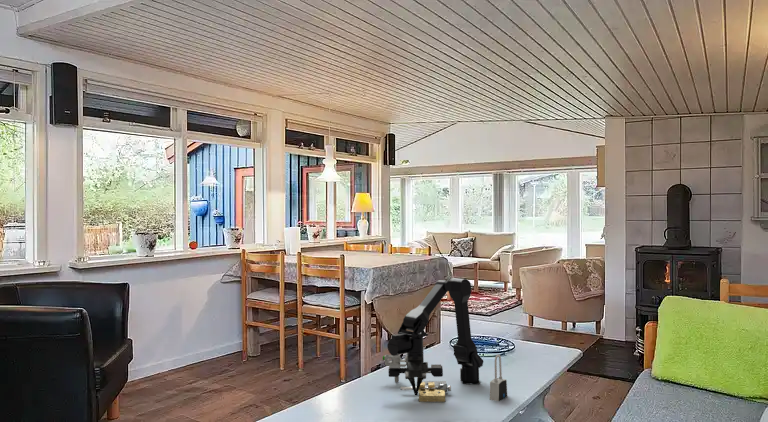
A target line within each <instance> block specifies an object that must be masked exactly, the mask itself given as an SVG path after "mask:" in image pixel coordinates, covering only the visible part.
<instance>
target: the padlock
mask: <svg viewBox="0 0 768 422" xmlns="http://www.w3.org/2000/svg"><path fill="white" fill-rule="evenodd" d="M501 357H502V356H501V355H500V354H496V355H495V358H494V378H493V379H492V380H491V381H489V400H490V401H495V402H501V401H503V400H505V399H506V398H507V397H508V383H507V381H508V380H507V379H504V378H503V375H502V374H503V373H502V372H503V371H502V358H501ZM497 361H498V362H497ZM497 364H498V365H499V366H498V365H497ZM498 367H499V368H498ZM498 369H499V377H498V373H497V372H498V371H497V370H498Z"/></svg>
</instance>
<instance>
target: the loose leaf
mask: <svg viewBox="0 0 768 422" xmlns="http://www.w3.org/2000/svg"><path fill="white" fill-rule="evenodd" d="M420 387H425V382H421V385H420ZM428 387H435V384H434V382H428ZM418 402H419V403H420V402H421V403H422V402H426V403H427V402H429V403H430V402H431V403H432V402H433V403H434V402H435V403H437V402H438V403H441V402H442V403H444V402H446V393H445V390H435V389H428V390H425V389H419V391H418Z"/></svg>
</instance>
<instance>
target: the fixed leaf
mask: <svg viewBox="0 0 768 422" xmlns="http://www.w3.org/2000/svg"><path fill="white" fill-rule="evenodd" d="M422 382H425V387H420V388H419V389H425V390H428V389H435V390H445V394H447V393H448V392H451V391H452V386H451V385H448V384H447V380H422ZM428 382H434V384H435V387H428ZM400 390H401V391H413V388H412V386H400Z"/></svg>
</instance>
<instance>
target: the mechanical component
mask: <svg viewBox="0 0 768 422" xmlns="http://www.w3.org/2000/svg"><path fill="white" fill-rule="evenodd" d="M382 361H384V365H385V366H386V367H389V366H390V365H400V368H406V367H407V355H406V356H405V358H404V359H402V357H401V354H400V355H395V356H393V355H391V354H385V355H383V356H382ZM399 376H400V375H399ZM399 376H398V377H394V383H396V384H397V383H399V382H400V377H399Z"/></svg>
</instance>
